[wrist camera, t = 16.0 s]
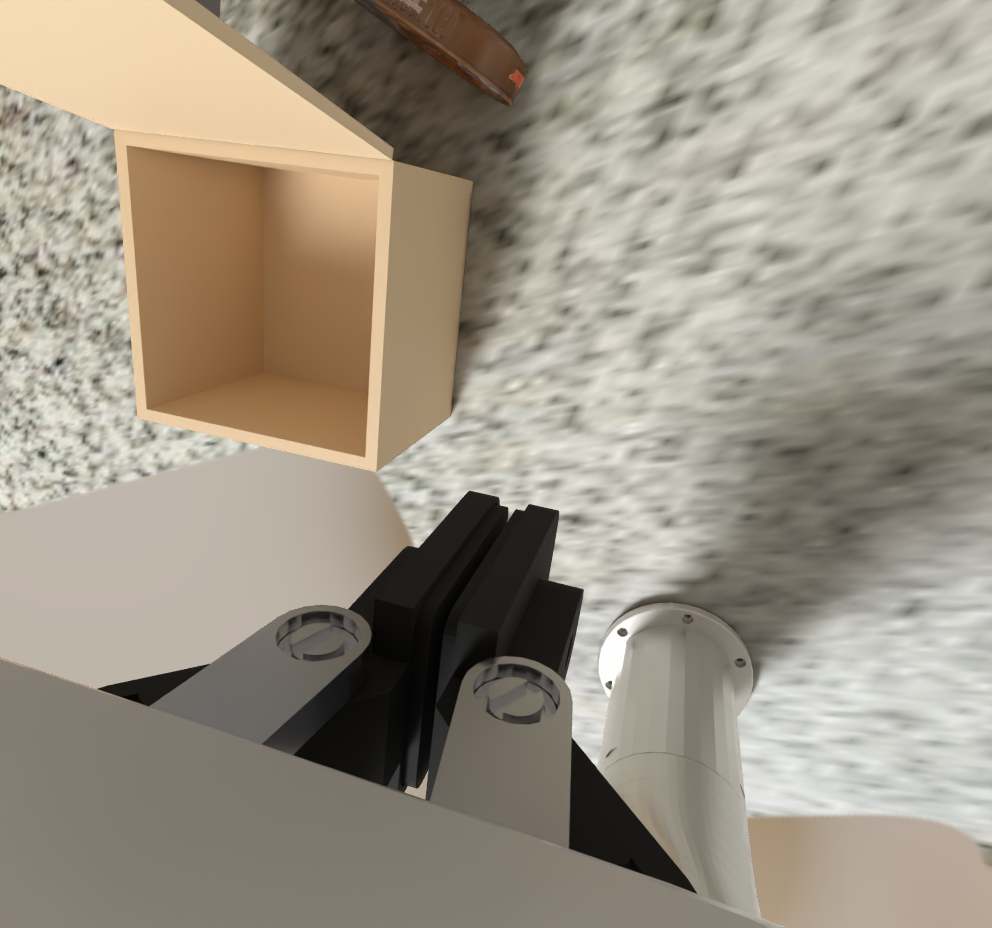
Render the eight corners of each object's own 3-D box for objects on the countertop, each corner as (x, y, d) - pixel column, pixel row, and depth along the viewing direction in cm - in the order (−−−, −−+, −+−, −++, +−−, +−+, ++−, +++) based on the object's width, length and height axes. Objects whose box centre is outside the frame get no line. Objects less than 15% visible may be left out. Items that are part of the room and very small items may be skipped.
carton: (450, 416, 54) (376, 471, 41) (259, 378, 58) (137, 418, 45) (473, 181, 48) (393, 160, 35) (256, 155, 51) (113, 129, 39)
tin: (349, -3, 46) (281, -50, 38) (369, -50, 45) (302, -110, 37) (522, 119, 45) (487, 95, 38) (547, 74, 44) (517, 40, 36)
